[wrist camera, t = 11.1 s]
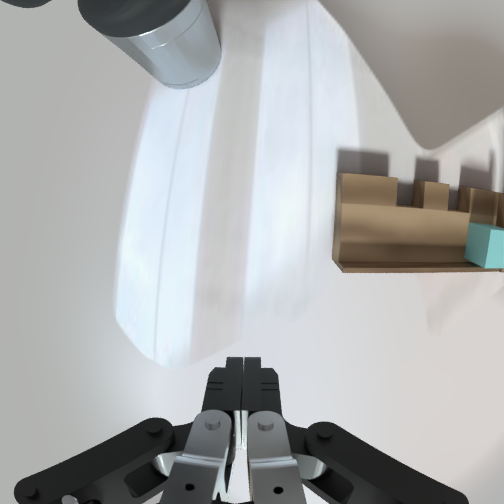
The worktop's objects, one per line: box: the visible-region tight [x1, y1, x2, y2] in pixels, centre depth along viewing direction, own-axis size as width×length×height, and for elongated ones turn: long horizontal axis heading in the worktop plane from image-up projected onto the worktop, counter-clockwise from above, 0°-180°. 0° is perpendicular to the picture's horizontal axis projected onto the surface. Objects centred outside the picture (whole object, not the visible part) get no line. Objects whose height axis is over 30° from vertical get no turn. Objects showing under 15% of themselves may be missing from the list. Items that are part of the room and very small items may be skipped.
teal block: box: [464, 222, 504, 268], centre depth 33 cm, size 5×5×5 cm
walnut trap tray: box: [332, 173, 504, 273], centre depth 35 cm, size 11×26×6 cm, turn 89°
